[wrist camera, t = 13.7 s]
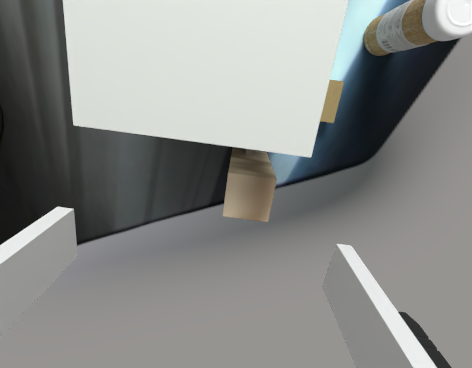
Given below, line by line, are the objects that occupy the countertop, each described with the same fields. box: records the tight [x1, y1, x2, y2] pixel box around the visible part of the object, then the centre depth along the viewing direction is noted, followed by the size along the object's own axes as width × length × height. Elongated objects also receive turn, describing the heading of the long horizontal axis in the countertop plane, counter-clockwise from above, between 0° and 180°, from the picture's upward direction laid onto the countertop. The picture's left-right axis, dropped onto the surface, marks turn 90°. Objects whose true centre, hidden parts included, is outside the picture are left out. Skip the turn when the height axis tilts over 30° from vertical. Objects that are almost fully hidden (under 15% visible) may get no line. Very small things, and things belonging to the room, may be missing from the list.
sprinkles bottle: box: [364, 0, 472, 56], centre depth 26 cm, size 5×5×14 cm
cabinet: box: [63, 0, 349, 157], centre depth 24 cm, size 16×14×20 cm
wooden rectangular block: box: [223, 148, 277, 222], centre depth 31 cm, size 5×15×12 cm, turn 172°
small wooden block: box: [320, 80, 344, 123], centre depth 34 cm, size 5×5×3 cm
